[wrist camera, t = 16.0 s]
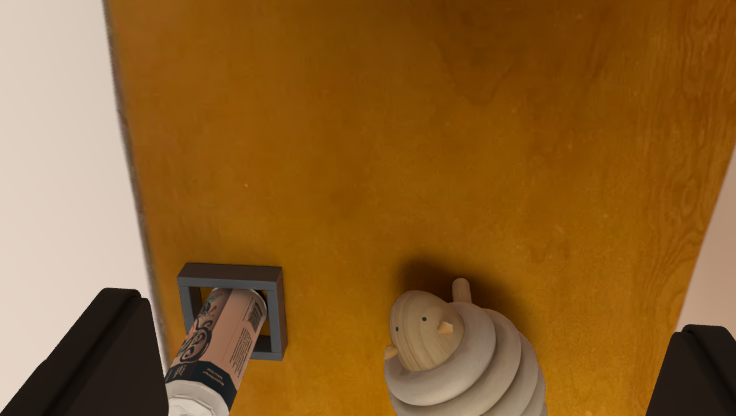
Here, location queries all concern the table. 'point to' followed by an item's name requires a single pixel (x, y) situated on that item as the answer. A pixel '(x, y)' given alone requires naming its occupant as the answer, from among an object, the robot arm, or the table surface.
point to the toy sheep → (459, 359)
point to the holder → (238, 279)
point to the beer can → (215, 354)
